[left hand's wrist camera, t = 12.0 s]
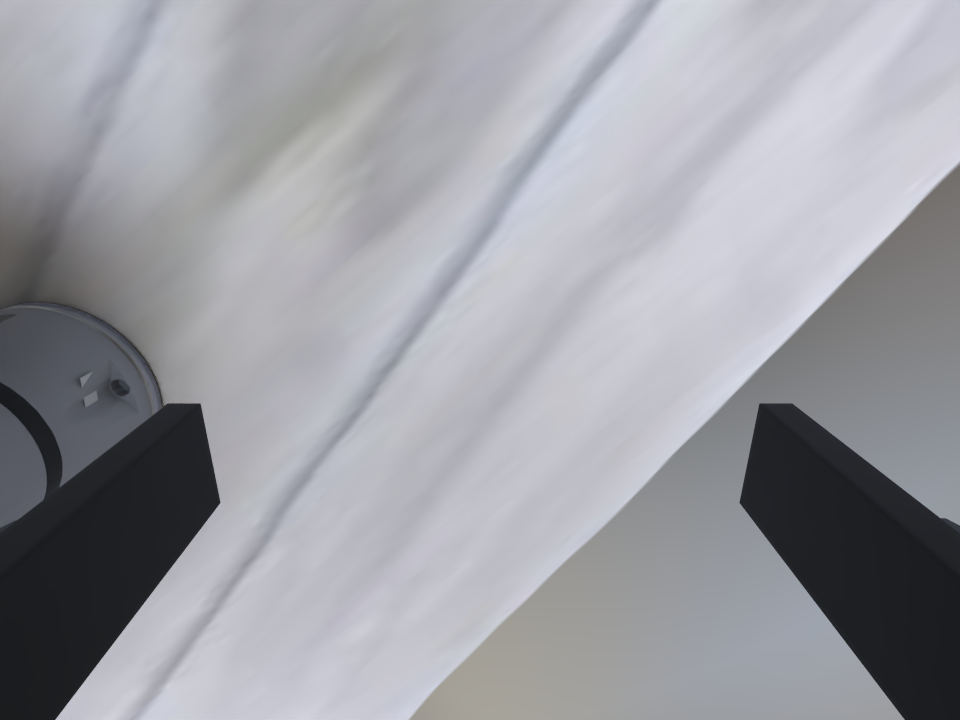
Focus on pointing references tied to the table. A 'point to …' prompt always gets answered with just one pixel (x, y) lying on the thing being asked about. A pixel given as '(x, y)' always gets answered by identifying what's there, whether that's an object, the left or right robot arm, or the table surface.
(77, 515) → the left robot arm
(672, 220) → the table surface
